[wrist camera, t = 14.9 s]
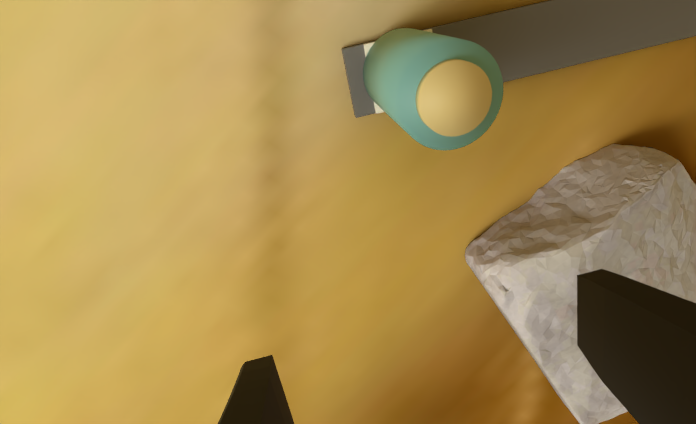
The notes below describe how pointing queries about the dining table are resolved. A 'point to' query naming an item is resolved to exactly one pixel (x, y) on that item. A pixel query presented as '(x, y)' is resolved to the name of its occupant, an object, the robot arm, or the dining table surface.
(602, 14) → the bar
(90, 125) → the dining table surface
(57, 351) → the dining table surface
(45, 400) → the dining table surface
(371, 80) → the teal cylinder cream end
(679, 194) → the stone block
